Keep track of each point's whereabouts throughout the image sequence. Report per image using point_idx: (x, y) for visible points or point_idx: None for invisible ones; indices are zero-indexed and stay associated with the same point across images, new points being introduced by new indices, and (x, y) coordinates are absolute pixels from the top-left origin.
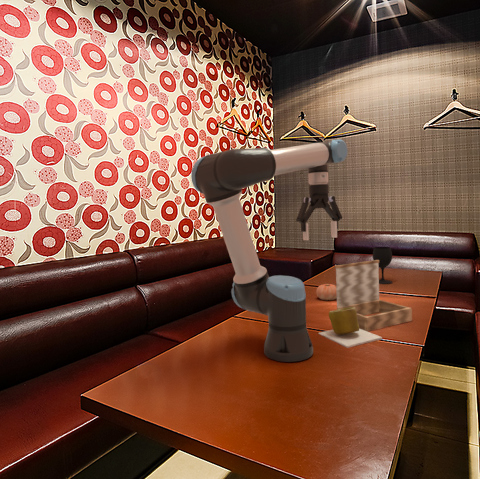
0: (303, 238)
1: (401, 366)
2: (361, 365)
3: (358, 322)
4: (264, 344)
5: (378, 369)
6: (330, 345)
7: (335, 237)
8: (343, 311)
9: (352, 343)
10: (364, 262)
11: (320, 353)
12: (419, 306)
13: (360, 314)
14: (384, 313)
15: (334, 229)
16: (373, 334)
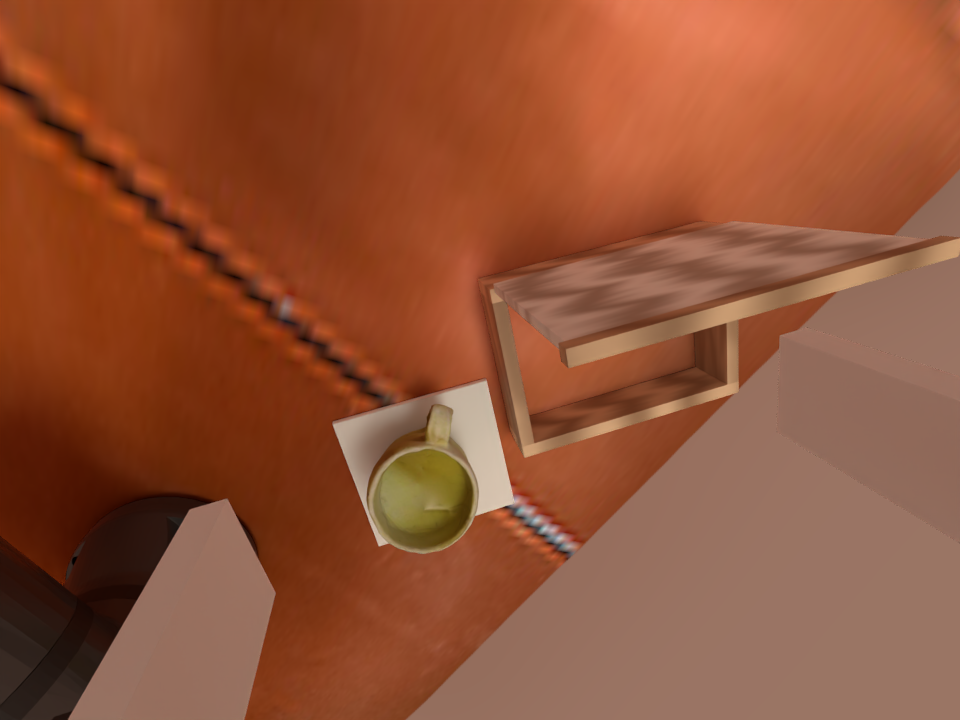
0: (185, 540)
1: (449, 648)
2: (363, 637)
3: (508, 404)
4: (66, 577)
5: (391, 657)
6: (336, 517)
7: (778, 428)
8: (407, 550)
9: None
10: (824, 294)
11: (283, 565)
12: (867, 218)
13: (526, 415)
14: (611, 427)
15: (910, 484)
16: (504, 478)
